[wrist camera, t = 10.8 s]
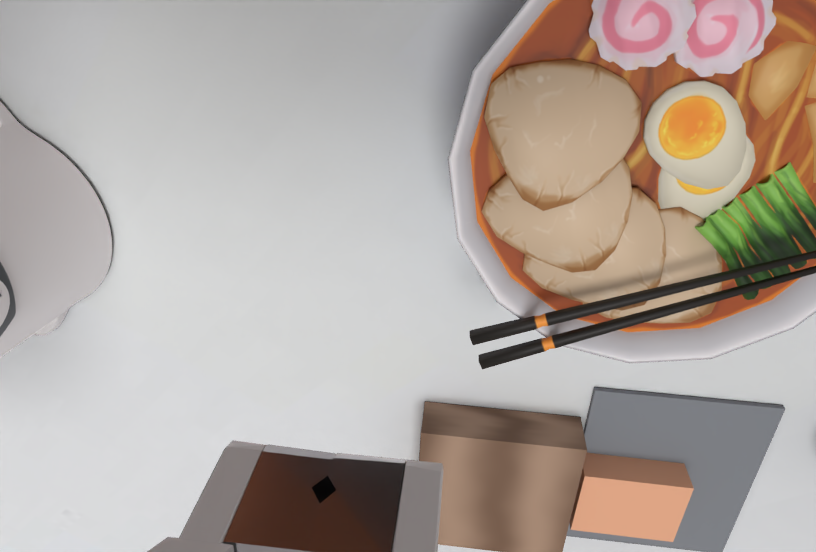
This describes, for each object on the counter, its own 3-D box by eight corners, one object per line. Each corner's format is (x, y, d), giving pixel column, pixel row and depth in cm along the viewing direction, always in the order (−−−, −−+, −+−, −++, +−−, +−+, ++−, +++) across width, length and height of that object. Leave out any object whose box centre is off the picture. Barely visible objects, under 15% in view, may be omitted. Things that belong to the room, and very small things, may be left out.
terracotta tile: (566, 504, 51) (570, 529, 49) (580, 451, 48) (584, 476, 46) (664, 516, 51) (673, 542, 48) (684, 463, 48) (693, 488, 46)
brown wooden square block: (417, 507, 54) (413, 541, 51) (424, 401, 48) (420, 432, 45) (556, 522, 53) (560, 558, 50) (580, 416, 47) (587, 450, 44)
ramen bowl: (879, -180, 28) (1012, -220, 21) (885, 244, 38) (978, 314, 31) (381, 14, 35) (356, 34, 28) (495, 336, 44) (498, 412, 37)
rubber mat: (560, 531, 53) (560, 535, 53) (594, 387, 46) (595, 390, 45) (719, 549, 52) (721, 553, 52) (782, 405, 45) (785, 409, 44)
